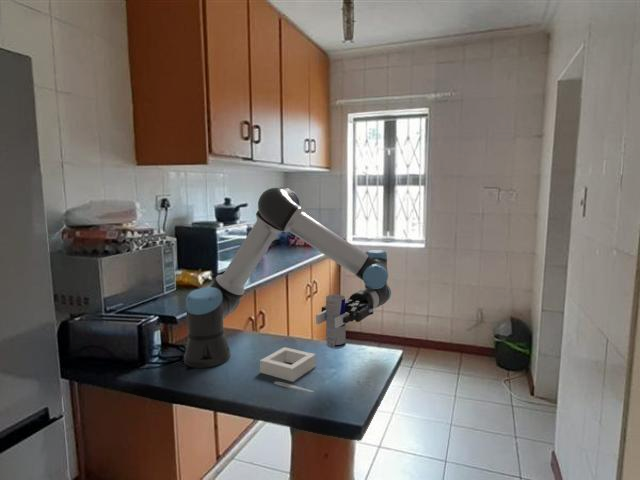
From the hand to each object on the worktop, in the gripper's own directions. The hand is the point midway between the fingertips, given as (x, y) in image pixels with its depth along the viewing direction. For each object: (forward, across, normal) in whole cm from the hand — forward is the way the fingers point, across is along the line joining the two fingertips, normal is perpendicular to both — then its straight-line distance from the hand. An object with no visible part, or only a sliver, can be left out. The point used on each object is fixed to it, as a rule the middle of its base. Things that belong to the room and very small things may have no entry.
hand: (326, 321), depth 117 cm
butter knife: (+4, +2, -20) cm, 21 cm away
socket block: (-4, +17, -20) cm, 26 cm away
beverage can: (-5, 0, -9) cm, 11 cm away
